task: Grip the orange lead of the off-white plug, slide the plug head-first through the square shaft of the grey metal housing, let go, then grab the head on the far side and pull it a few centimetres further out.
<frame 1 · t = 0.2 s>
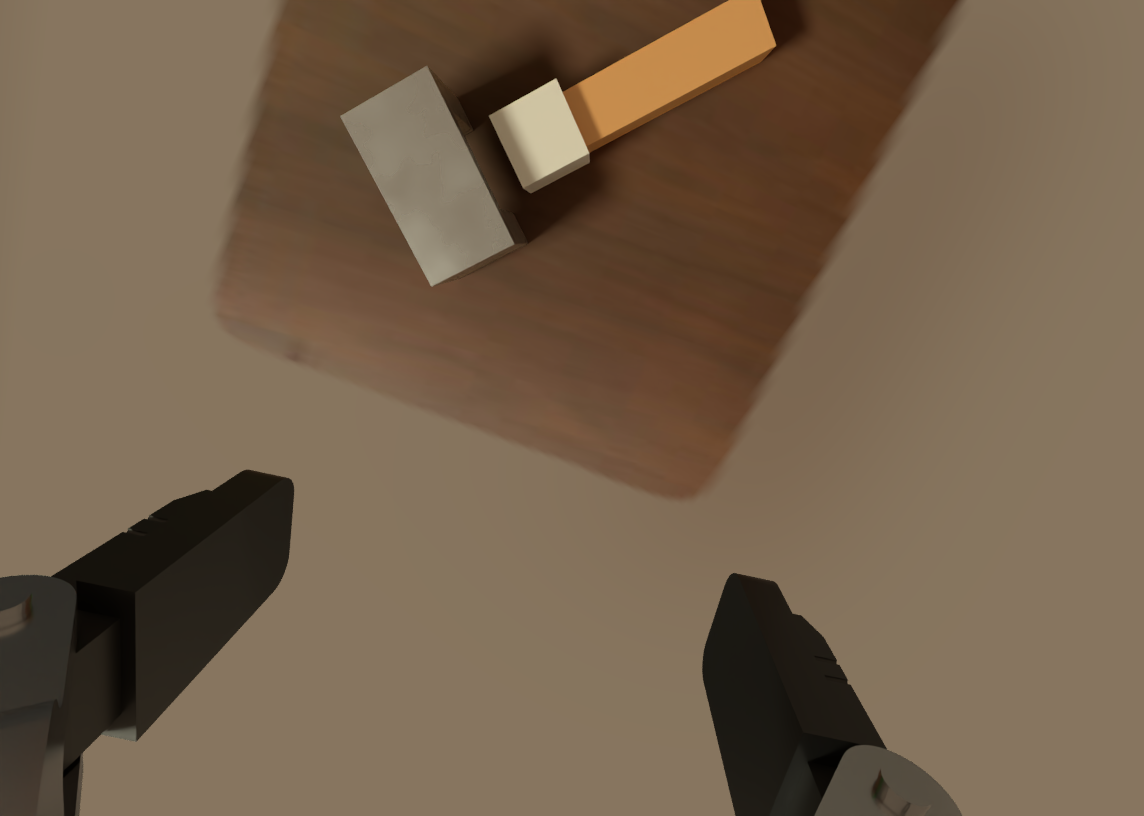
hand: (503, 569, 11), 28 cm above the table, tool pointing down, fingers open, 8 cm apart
housing: (458, 191, 36), on the table
plug: (545, 146, 35), on the table
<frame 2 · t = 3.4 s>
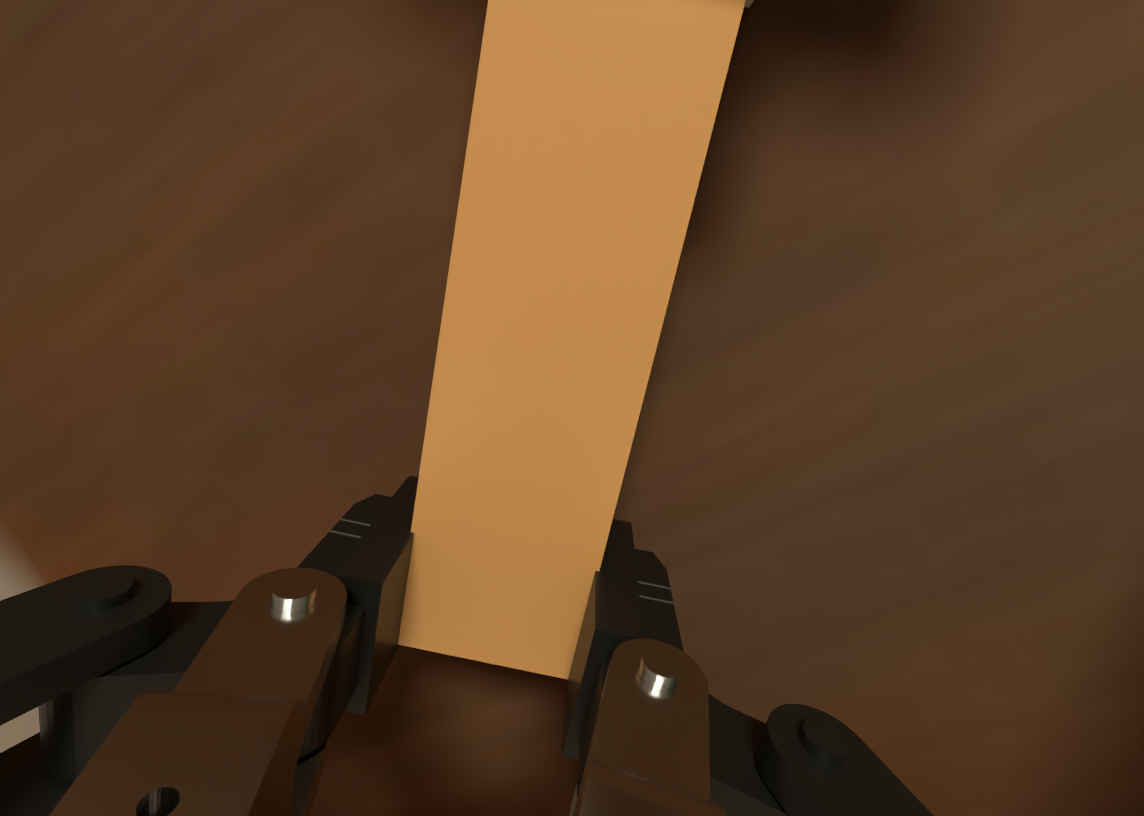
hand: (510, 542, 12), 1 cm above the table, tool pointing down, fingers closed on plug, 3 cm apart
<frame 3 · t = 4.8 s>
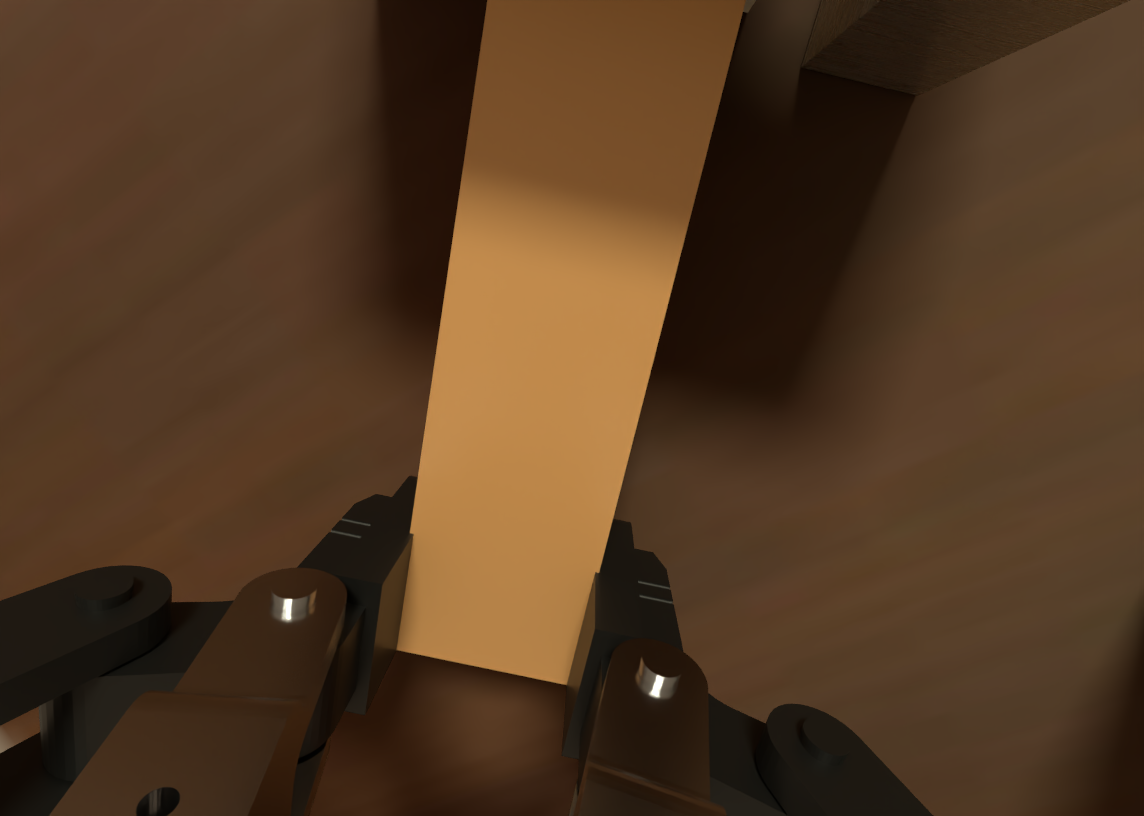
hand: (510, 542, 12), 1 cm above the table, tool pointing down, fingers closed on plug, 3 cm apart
when the fingers open (1 cm above the table, at t = 6.2 s): plug stays where it is, on the table.
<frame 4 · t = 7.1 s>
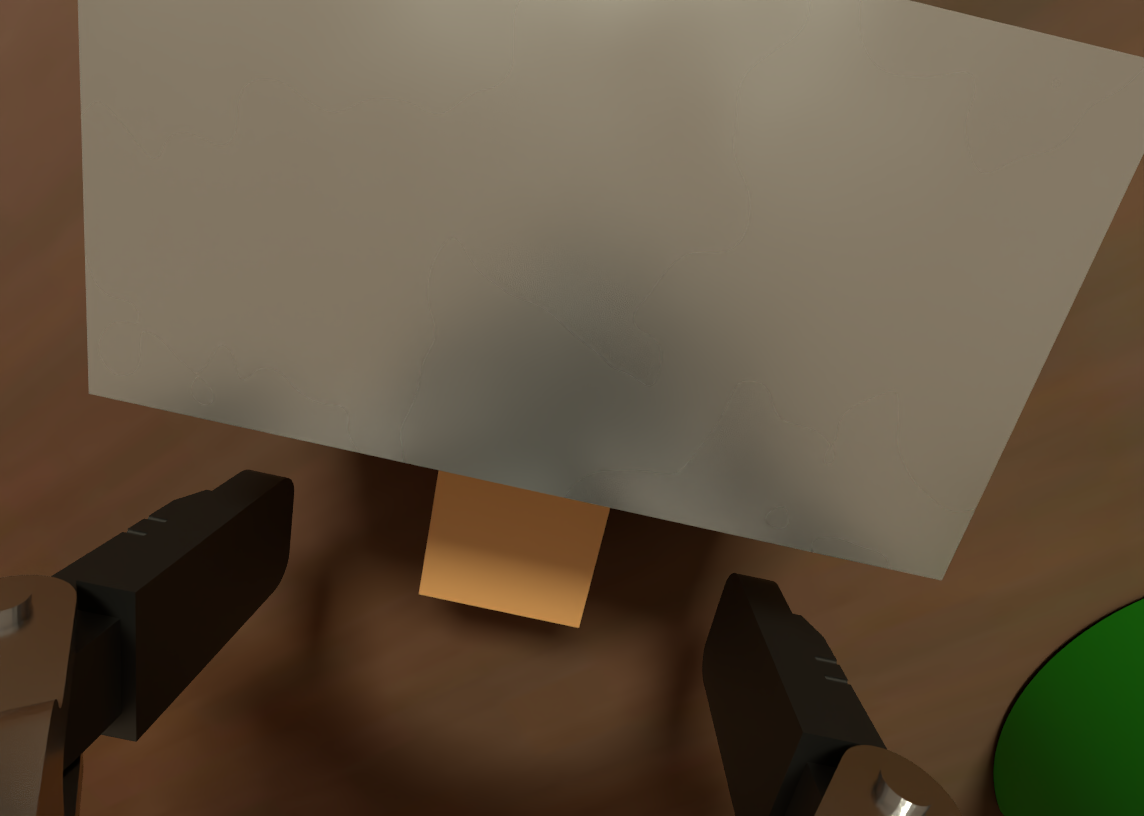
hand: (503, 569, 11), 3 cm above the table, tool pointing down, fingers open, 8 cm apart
housing: (586, 239, 12), on the table
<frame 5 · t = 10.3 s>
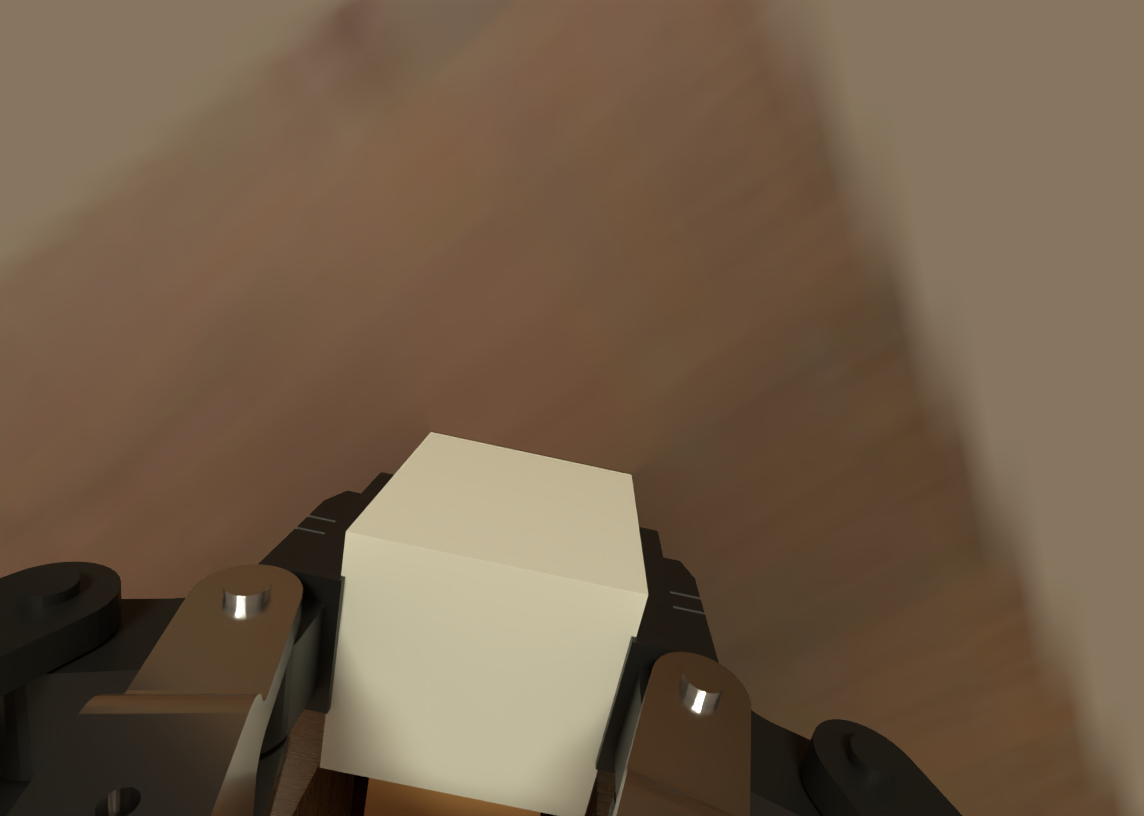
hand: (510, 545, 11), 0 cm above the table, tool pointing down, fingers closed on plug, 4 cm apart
housing: (466, 777, 14), on the table
plug: (513, 542, 12), on the table, touching gripper
when the fingers open (1 cm above the table, at t = 11.7 s): plug stays where it is, on the table.
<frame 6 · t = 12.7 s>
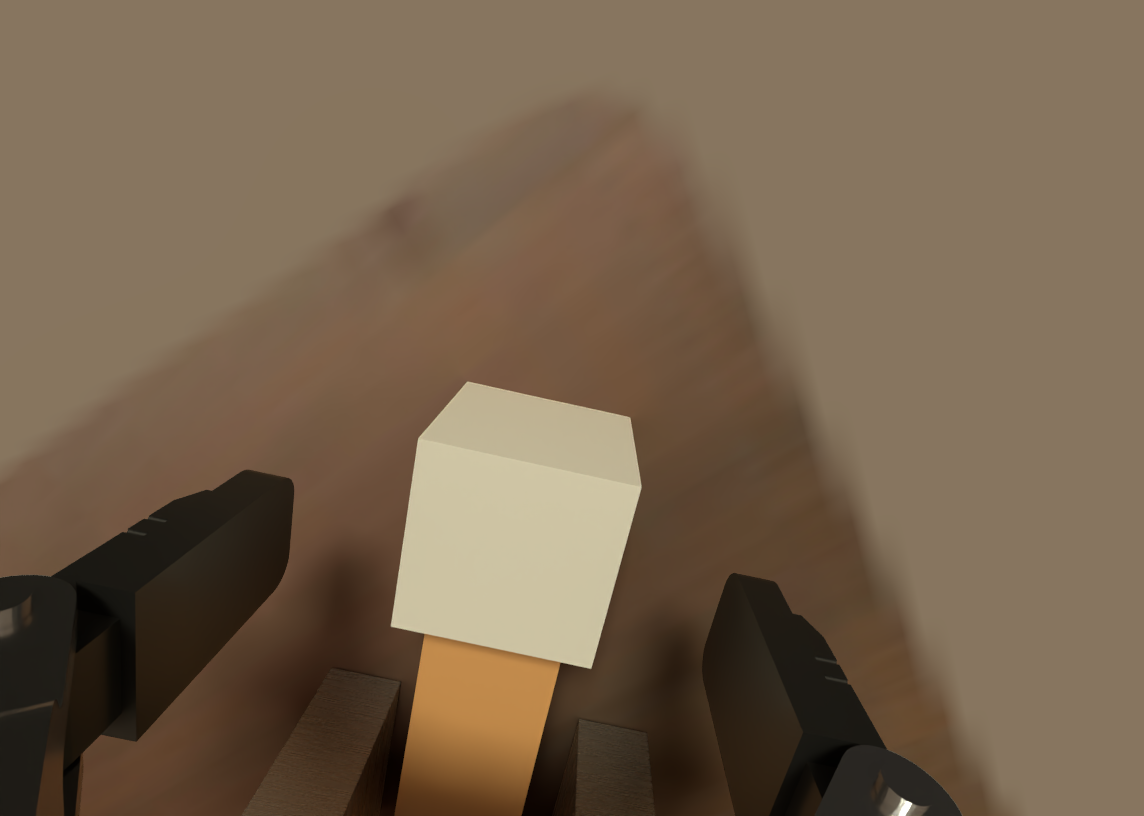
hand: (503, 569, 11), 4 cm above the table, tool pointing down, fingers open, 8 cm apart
housing: (476, 766, 17), on the table
plug: (533, 473, 15), on the table
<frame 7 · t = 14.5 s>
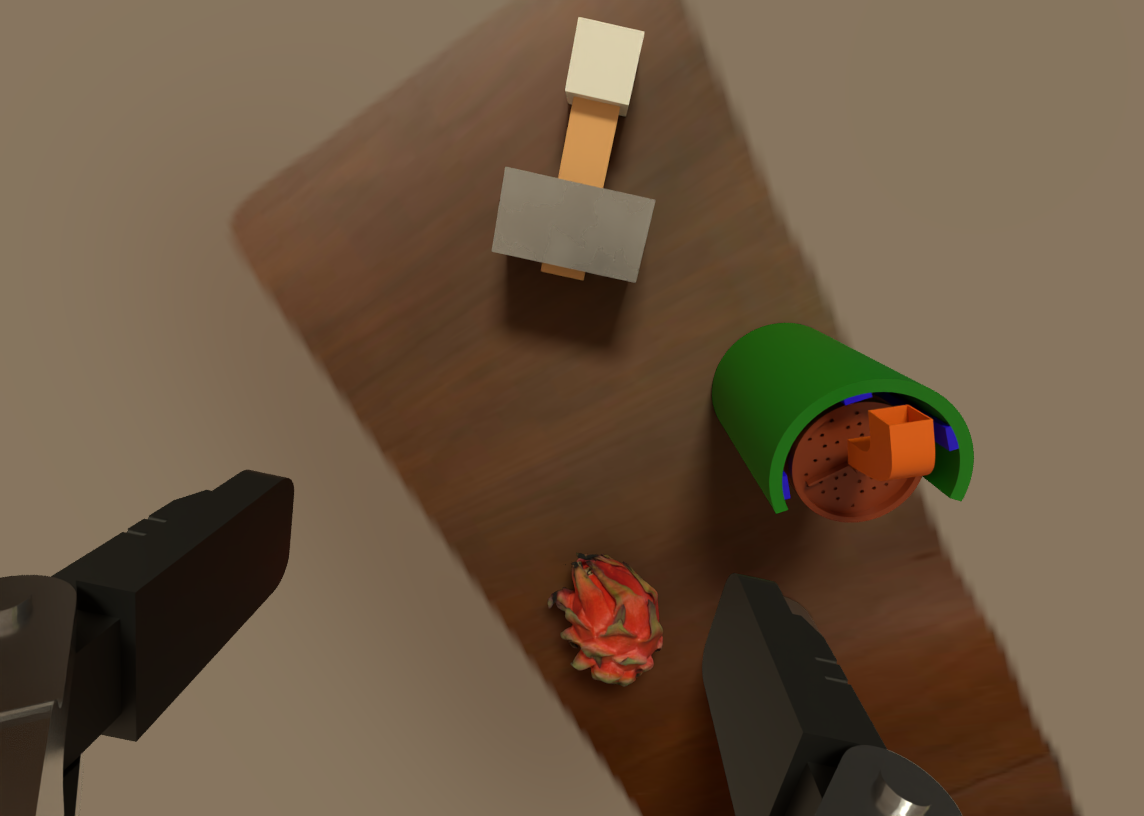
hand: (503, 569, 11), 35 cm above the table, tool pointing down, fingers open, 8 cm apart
housing: (575, 226, 42), on the table
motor: (775, 380, 45), on the table
dragon fruit: (607, 587, 51), on the table
plug: (603, 77, 39), on the table
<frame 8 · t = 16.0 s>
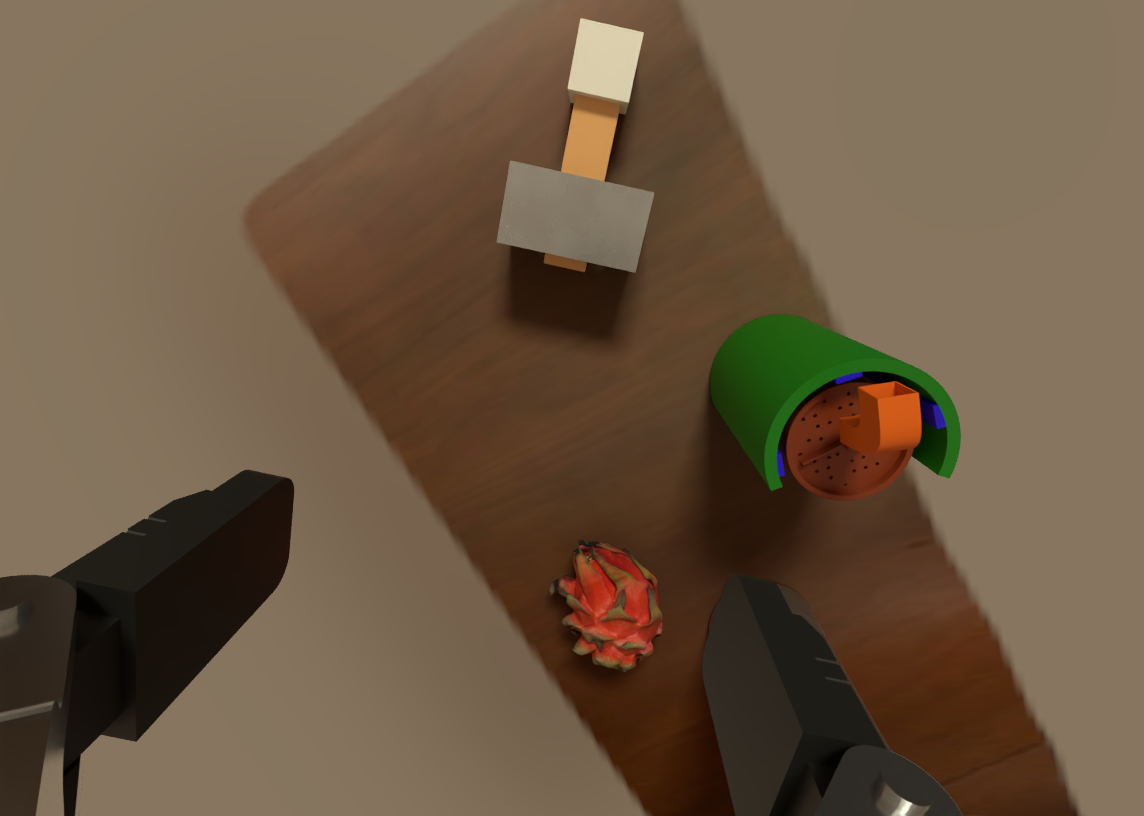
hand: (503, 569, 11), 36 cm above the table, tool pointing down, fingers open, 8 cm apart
housing: (577, 220, 43), on the table
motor: (771, 371, 46), on the table
dragon fruit: (608, 576, 52), on the table
plug: (604, 77, 41), on the table
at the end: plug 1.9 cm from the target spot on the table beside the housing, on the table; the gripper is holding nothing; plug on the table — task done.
